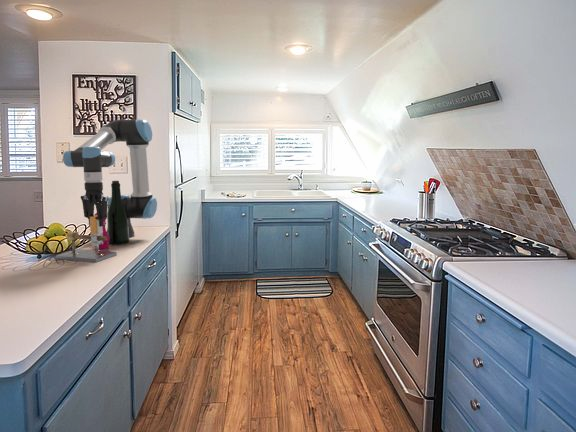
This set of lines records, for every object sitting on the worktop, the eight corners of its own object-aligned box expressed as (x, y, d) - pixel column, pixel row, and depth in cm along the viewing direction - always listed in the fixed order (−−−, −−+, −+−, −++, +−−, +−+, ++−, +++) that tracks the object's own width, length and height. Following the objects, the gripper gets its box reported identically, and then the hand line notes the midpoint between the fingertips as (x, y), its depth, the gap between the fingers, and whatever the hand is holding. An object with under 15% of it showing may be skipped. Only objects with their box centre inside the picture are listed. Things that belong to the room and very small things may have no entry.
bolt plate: (77, 251, 223) (77, 248, 223) (116, 255, 216) (116, 251, 216) (55, 258, 210) (55, 255, 209) (96, 262, 203) (95, 258, 203)
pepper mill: (106, 250, 227) (104, 209, 224) (91, 250, 227) (89, 209, 224) (112, 246, 234) (110, 207, 231) (98, 246, 234) (95, 207, 231)
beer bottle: (125, 245, 238) (121, 181, 233) (104, 245, 238) (101, 181, 233) (132, 241, 248) (129, 179, 243) (113, 241, 248) (109, 179, 243)
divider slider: (98, 252, 213) (95, 215, 211) (103, 252, 212) (101, 215, 210) (92, 253, 209) (89, 216, 207) (97, 254, 209) (95, 216, 206)
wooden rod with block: (73, 251, 217) (72, 231, 216) (109, 254, 211) (108, 234, 210) (67, 253, 213) (65, 233, 212) (103, 256, 208) (102, 235, 206)
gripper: (72, 181, 205) (76, 233, 208) (102, 182, 200) (106, 235, 204) (84, 180, 212) (87, 230, 215) (114, 181, 207) (117, 232, 211)
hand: (96, 233), depth 209 cm, fingers closed on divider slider, 3 cm apart
